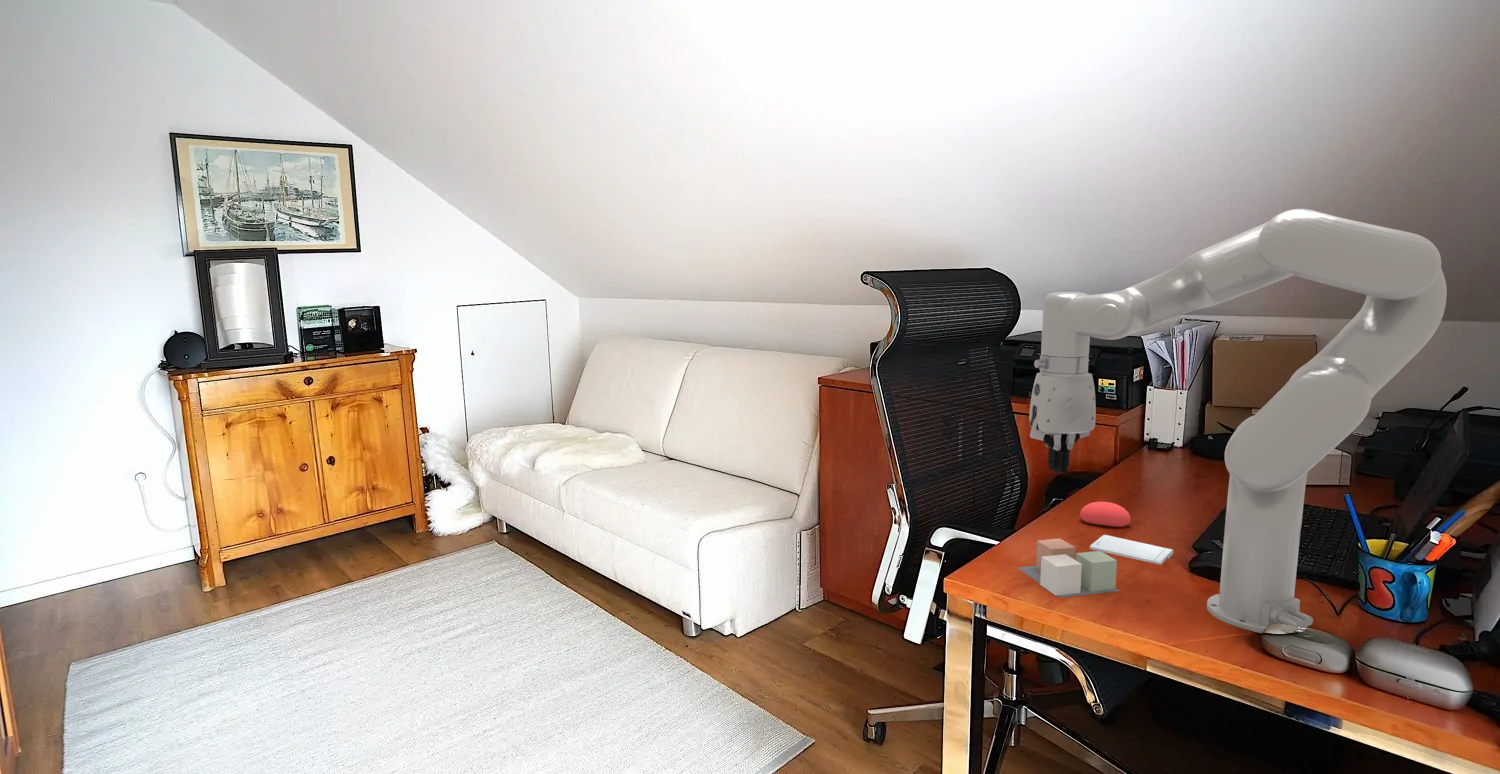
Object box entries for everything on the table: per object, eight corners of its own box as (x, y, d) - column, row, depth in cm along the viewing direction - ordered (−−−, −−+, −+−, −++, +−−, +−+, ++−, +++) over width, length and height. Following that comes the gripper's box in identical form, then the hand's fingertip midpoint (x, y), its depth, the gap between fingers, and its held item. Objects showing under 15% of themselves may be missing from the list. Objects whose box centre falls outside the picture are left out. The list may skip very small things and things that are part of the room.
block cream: (1080, 592, 129) (1081, 564, 129) (1055, 595, 128) (1056, 566, 128) (1064, 582, 134) (1065, 554, 133) (1040, 584, 133) (1041, 556, 132)
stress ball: (1118, 539, 158) (1134, 512, 158) (1075, 516, 163) (1090, 490, 163) (1119, 540, 163) (1135, 514, 163) (1078, 517, 167) (1093, 492, 167)
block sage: (1115, 589, 131) (1117, 560, 130) (1091, 591, 130) (1092, 562, 129) (1098, 578, 135) (1099, 550, 134) (1074, 581, 134) (1076, 553, 133)
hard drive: (1089, 545, 149) (1161, 561, 141) (1104, 533, 155) (1173, 548, 147) (1089, 553, 149) (1160, 569, 141) (1103, 541, 155) (1173, 556, 147)
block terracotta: (1073, 574, 137) (1075, 547, 136) (1050, 577, 136) (1051, 549, 135) (1058, 565, 141) (1059, 538, 140) (1035, 567, 140) (1037, 540, 139)
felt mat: (1119, 593, 130) (1119, 590, 130) (1059, 599, 128) (1059, 597, 128) (1072, 563, 143) (1072, 561, 143) (1017, 569, 140) (1017, 567, 140)
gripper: (1036, 370, 128) (1030, 479, 131) (1117, 367, 131) (1110, 474, 134) (1011, 364, 135) (1007, 468, 138) (1089, 361, 138) (1083, 462, 141)
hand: (1057, 470), depth 136 cm, fingers closed
